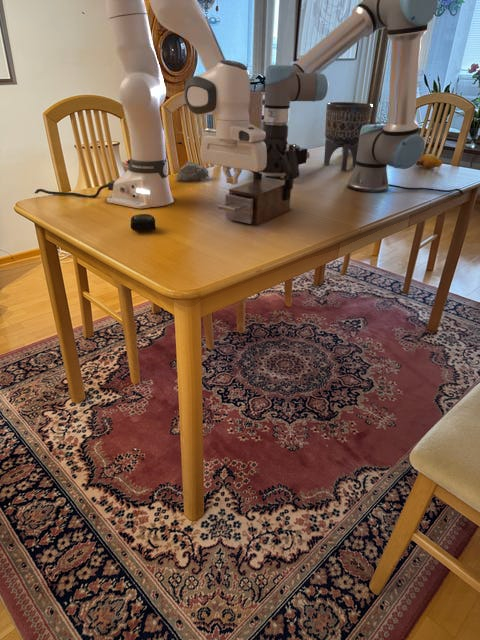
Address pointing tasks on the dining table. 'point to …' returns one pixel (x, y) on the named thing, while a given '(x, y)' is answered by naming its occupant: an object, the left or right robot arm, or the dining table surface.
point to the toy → (429, 161)
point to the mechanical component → (276, 167)
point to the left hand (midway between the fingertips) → (232, 183)
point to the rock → (192, 172)
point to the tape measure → (142, 222)
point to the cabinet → (264, 198)
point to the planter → (345, 128)
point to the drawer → (239, 208)
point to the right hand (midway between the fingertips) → (271, 196)
